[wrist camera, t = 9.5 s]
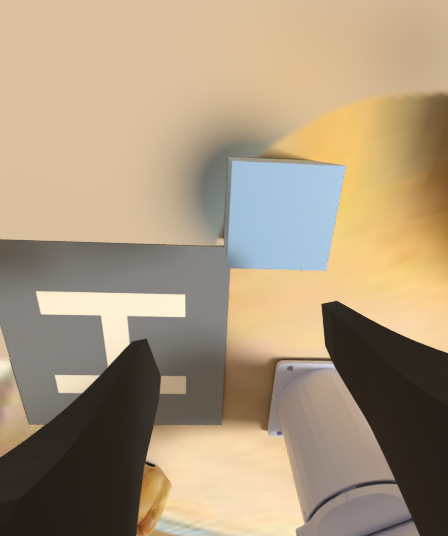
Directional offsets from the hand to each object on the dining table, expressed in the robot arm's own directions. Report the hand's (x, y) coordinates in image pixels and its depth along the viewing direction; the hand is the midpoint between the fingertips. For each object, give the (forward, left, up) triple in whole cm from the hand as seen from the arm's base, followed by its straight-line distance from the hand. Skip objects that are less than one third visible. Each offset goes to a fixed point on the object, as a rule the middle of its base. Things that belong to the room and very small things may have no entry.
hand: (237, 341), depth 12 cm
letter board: (+8, +7, -9) cm, 13 cm away
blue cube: (-2, -4, -9) cm, 10 cm away
